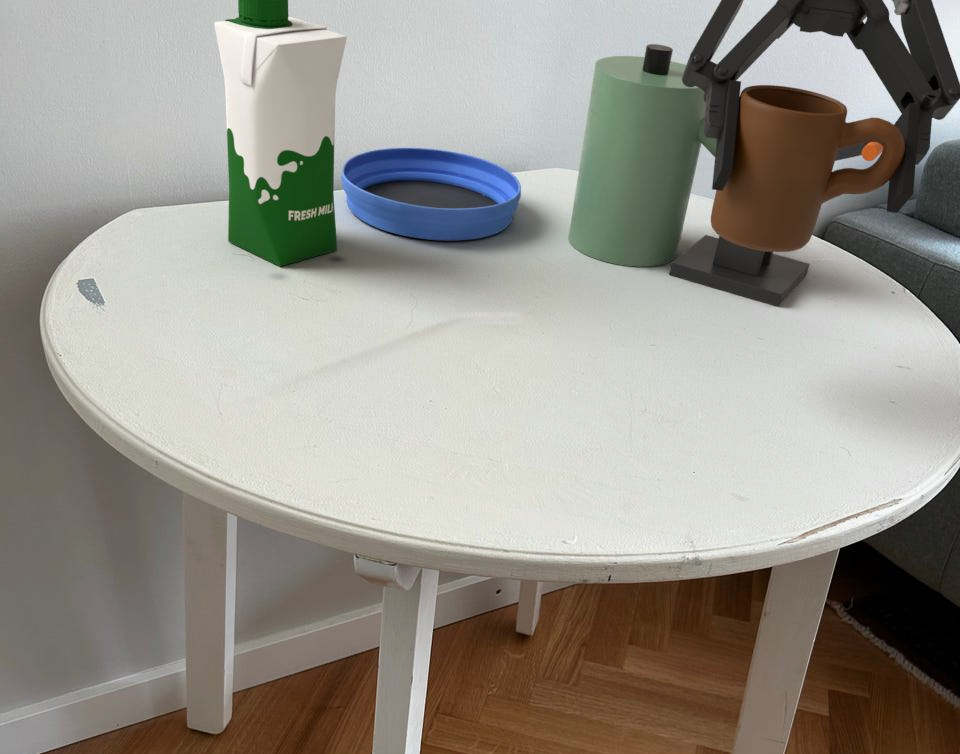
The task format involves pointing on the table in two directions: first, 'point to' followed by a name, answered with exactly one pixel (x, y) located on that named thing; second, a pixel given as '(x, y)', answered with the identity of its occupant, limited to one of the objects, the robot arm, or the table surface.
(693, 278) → the dark grey stand
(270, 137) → the milk carton
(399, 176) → the bowl
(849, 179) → the mug
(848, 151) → the switch
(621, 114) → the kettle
